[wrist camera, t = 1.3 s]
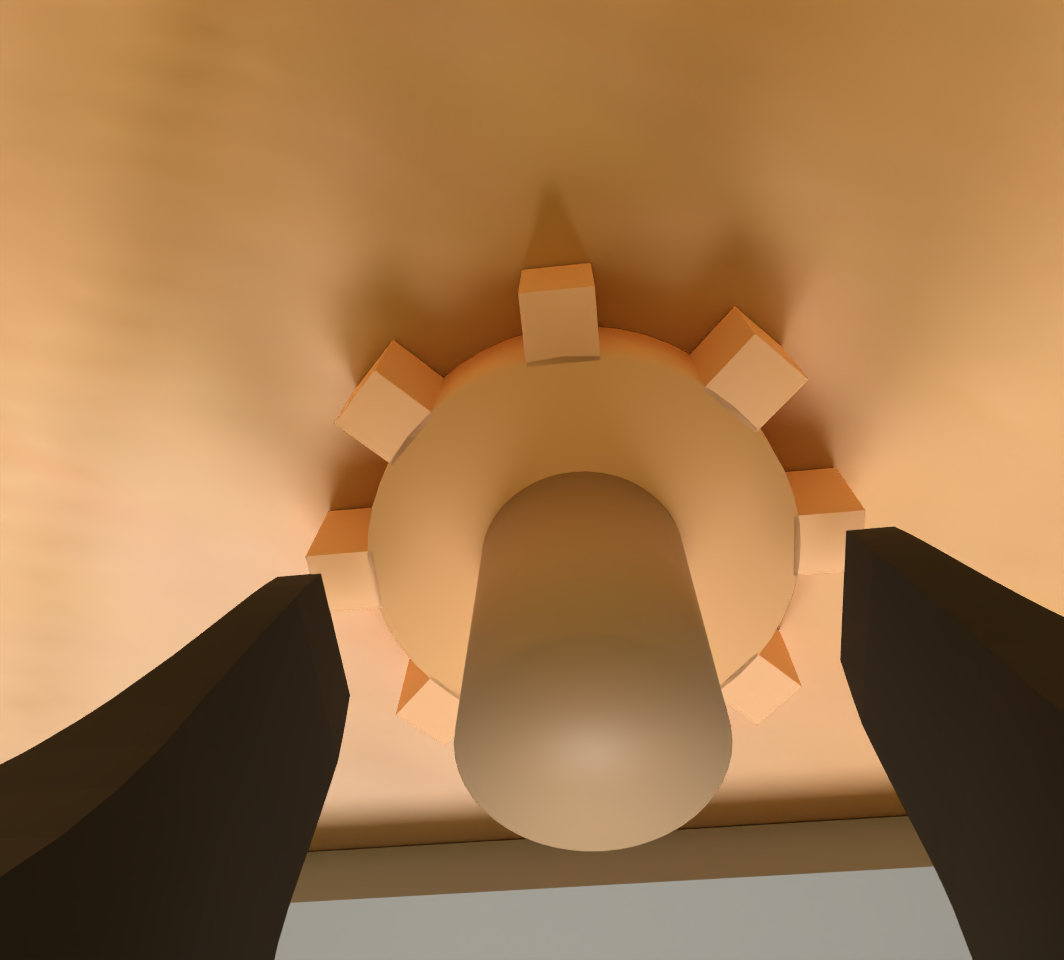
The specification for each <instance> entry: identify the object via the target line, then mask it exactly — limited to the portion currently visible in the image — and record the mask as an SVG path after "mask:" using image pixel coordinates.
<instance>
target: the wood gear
mask: <svg viewBox="0 0 1064 960" xmlns="http://www.w3.org/2000/svg"><path fill="white" fill-rule="evenodd" d="M518 298H519V307H520V316H521V325H522V334H523V335H520V336H517V337H514V338H510V339H507V340H505V341H503V342H500V343H498V344H496V345H494V346H492V347H489V348H487V349H485V350H483V351H481V352H479V353H478V354H476V355H475V356H473V357H471V358H470V359H468V360H466V361H465V362H463V363H462V364H460V365H459V366H457V367H456V368H455V369H454V370H453V371H451V372H450V373H449V374H448V375H446V376H445V377H444V378H443V377H442V376H440V375H439V374H438V373H436V372H435V371H434V370H432V369H431V368H430V367H428V366H427V365H426V364H424V363H423V362H422V361H420V360H419V359H418V358H417V357H415V356H414V355H413V354H411V353H410V352H409V351H407V350H406V349H405V348H403V347H402V346H401V345H399V344H398V343H397V342H395V341H394V340H392V342H391V343H390V344H389V345H388V347H387V348H386V349H385V351H384V352H383V353H382V355H381V356H380V357H379V359H378V360H377V361H376V362H375V364H374V365H373V366H372V368H371V369H370V370H369V372H368V373H367V374H366V376H365V377H364V378H363V380H362V381H361V382H360V383H359V385H358V386H357V387H356V389H355V390H354V392H353V394H352V395H351V397H350V398H349V400H348V402H347V403H346V405H345V406H344V408H343V410H342V411H341V413H340V415H339V416H338V418H337V419H336V421H335V423H334V424H335V425H336V426H338V427H339V428H341V429H342V430H343V431H345V432H346V433H348V434H349V435H350V436H352V437H353V438H355V439H356V440H357V441H359V442H360V443H362V444H363V445H364V446H366V447H367V448H369V449H370V450H371V451H373V452H374V453H376V454H377V455H378V456H380V457H381V458H383V459H384V460H386V461H387V462H388V465H387V467H386V470H385V472H384V474H383V477H382V479H381V482H380V484H379V487H378V490H377V494H376V497H375V500H374V503H373V506H372V508H360V509H348V510H337V511H329V512H328V514H327V516H326V518H325V520H324V522H323V524H322V525H321V527H320V529H319V531H318V533H317V535H316V537H315V539H314V541H313V543H312V545H311V547H310V549H309V551H308V553H307V555H306V560H307V564H308V568H309V572H310V574H320V573H321V576H322V580H323V584H324V588H325V593H326V597H327V601H328V605H329V609H330V612H337V611H350V610H363V609H375V608H380V610H381V612H382V614H383V617H384V619H385V621H386V623H387V626H388V627H389V629H390V630H391V632H392V634H393V635H394V637H395V638H396V640H397V642H398V643H399V645H400V646H401V648H402V649H403V650H404V651H405V652H406V654H407V655H408V656H409V657H410V660H409V664H408V668H407V672H406V676H405V680H404V684H403V688H402V692H401V696H400V700H399V704H398V708H397V712H396V715H397V716H398V717H400V718H401V719H403V720H404V721H406V722H408V723H409V724H411V725H412V726H414V727H416V728H417V729H419V730H420V731H422V732H424V733H425V734H427V735H428V736H430V737H431V738H433V739H435V740H436V741H438V742H439V743H441V744H443V745H444V746H446V745H447V744H448V743H449V742H450V741H451V740H452V739H453V738H454V750H455V759H456V763H457V767H458V771H459V774H460V776H461V778H462V780H463V783H464V785H465V787H466V788H467V790H468V791H469V793H470V794H471V796H472V798H473V799H474V800H475V801H476V802H477V803H478V805H479V806H480V807H481V808H482V809H483V810H484V811H485V812H486V813H487V814H488V815H489V816H491V817H492V818H493V819H494V820H495V821H497V822H498V823H500V824H501V825H503V826H504V827H505V828H507V829H509V830H511V831H512V832H514V833H516V834H518V835H520V836H522V837H524V838H527V839H529V840H532V841H534V842H537V843H540V844H544V845H547V846H551V847H556V848H561V849H566V850H575V851H609V850H618V849H624V848H628V847H633V846H637V845H641V844H644V843H647V842H650V841H653V840H655V839H658V838H660V837H662V836H665V835H667V834H669V833H670V832H672V831H674V830H676V829H678V828H679V827H681V826H682V825H684V824H685V823H687V822H688V821H689V820H691V819H692V818H693V817H695V816H696V815H697V814H698V813H699V812H700V811H701V810H702V809H703V808H704V807H705V806H706V805H707V804H708V803H709V801H710V800H711V799H712V798H713V796H714V795H715V794H716V792H717V790H718V789H719V787H720V785H721V784H722V782H723V780H724V777H725V775H726V772H727V770H728V767H729V763H730V758H731V753H732V732H731V725H730V721H729V717H728V713H727V709H726V706H725V703H726V704H728V705H729V706H731V707H732V708H733V709H735V710H736V711H738V712H739V713H740V714H742V715H743V716H745V717H746V718H747V719H749V720H750V721H752V722H753V723H754V724H756V725H757V724H758V723H760V722H761V721H762V720H763V719H764V718H765V717H767V716H768V715H769V714H770V713H771V712H772V711H774V710H775V709H776V708H777V707H778V706H779V705H781V704H782V703H783V702H784V701H785V700H787V699H788V698H789V697H790V696H791V695H792V694H794V693H795V692H796V691H797V690H798V689H799V688H801V687H802V686H801V684H800V681H799V679H798V676H797V673H796V671H795V668H794V666H793V663H792V661H791V658H790V656H789V653H788V651H787V648H786V646H785V643H784V641H783V638H782V636H781V633H780V632H779V631H778V630H777V627H778V626H779V624H780V622H781V620H782V619H783V617H784V614H785V612H786V609H787V607H788V605H789V602H790V600H791V597H792V595H793V591H794V587H795V583H796V579H797V575H810V574H822V573H835V572H844V567H845V545H846V531H847V530H859V529H864V524H865V509H864V508H863V506H862V505H861V503H860V502H859V501H858V499H857V498H856V496H855V495H854V493H853V492H852V490H851V489H850V488H849V486H848V485H847V483H846V482H845V480H844V479H843V478H842V476H841V475H840V473H839V472H838V470H837V469H836V468H826V469H814V470H802V471H791V472H785V471H784V469H783V467H782V465H781V463H780V462H779V460H778V458H777V456H776V455H775V453H774V451H773V449H772V448H771V446H770V444H769V442H768V440H767V439H766V437H765V435H764V433H763V432H762V430H761V427H762V426H763V425H764V424H765V423H766V422H767V421H768V420H769V419H770V418H771V417H772V416H773V415H774V414H775V413H776V412H777V411H778V410H779V409H780V408H781V407H782V406H783V405H784V404H785V403H786V402H787V401H788V400H789V399H790V398H791V397H792V396H793V395H794V394H795V393H796V392H797V391H798V390H799V389H800V388H801V387H802V386H803V385H804V384H805V383H806V382H807V381H808V378H807V377H806V376H805V375H804V373H803V372H802V371H801V370H800V368H799V367H798V366H797V365H796V363H795V362H794V361H793V360H792V359H791V357H790V356H789V355H788V354H787V352H786V351H785V350H784V349H783V347H781V346H780V345H779V344H778V343H777V342H776V341H774V340H773V339H772V338H771V337H770V336H769V335H768V334H766V333H765V332H764V331H763V330H762V329H761V328H759V327H758V326H757V325H756V324H755V323H754V322H752V321H751V320H750V319H749V318H748V317H747V316H746V315H744V314H743V313H742V312H741V311H740V310H739V309H737V308H736V307H735V306H734V307H733V308H732V309H731V311H730V312H729V313H728V314H727V315H726V316H725V317H724V318H723V319H722V320H721V321H720V323H719V324H718V325H717V326H716V327H715V328H714V329H713V330H712V331H711V332H710V333H709V334H708V336H707V337H706V338H705V339H704V340H703V341H702V342H701V343H700V344H699V345H698V346H697V348H696V349H695V350H694V351H693V352H692V353H691V354H688V353H687V352H685V351H683V350H681V349H679V348H677V347H675V346H673V345H671V344H669V343H666V342H664V341H661V340H658V339H655V338H653V337H650V336H647V335H644V334H640V333H636V332H631V331H627V330H622V329H618V328H607V327H598V321H597V308H596V295H595V284H594V279H593V273H592V267H591V263H583V264H573V265H564V266H554V267H544V268H534V269H525V270H522V272H521V278H520V284H519V290H518Z"/></svg>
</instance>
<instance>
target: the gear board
mask: <svg viewBox="0 0 1064 960" xmlns="http://www.w3.org/2000/svg"><path fill="white" fill-rule="evenodd" d="M275 960H972V957H971V954H970V952H969V949H968V946H967V944H966V941H965V939H964V936H963V933H962V931H961V928H960V926H959V923H958V920H957V918H956V915H955V912H954V910H953V907H952V905H951V903H950V901H949V898H948V896H947V894H946V892H945V890H944V887H943V885H942V883H941V881H940V879H939V876H938V874H937V872H936V870H935V868H934V866H933V864H932V862H931V860H930V858H929V856H928V854H927V852H926V850H925V848H924V846H923V844H922V842H921V840H920V839H919V837H918V835H917V833H916V831H915V829H914V827H913V825H912V823H911V821H910V819H909V817H908V816H899V817H883V818H866V819H850V820H833V821H816V822H800V823H783V824H767V825H750V826H733V827H717V828H700V829H684V830H674V831H672V832H670V833H669V834H667V835H665V836H662V837H660V838H658V839H655V840H653V841H650V842H647V843H644V844H641V845H637V846H633V847H628V848H624V849H618V850H609V851H575V850H566V849H561V848H556V847H551V846H547V845H544V844H540V843H537V842H534V841H532V840H529V839H518V840H501V841H484V842H468V843H451V844H435V845H418V846H401V847H385V848H368V849H352V850H335V851H318V852H307V855H306V858H305V861H304V864H303V867H302V870H301V873H300V876H299V879H298V882H297V885H296V887H295V890H294V893H293V896H292V899H291V902H290V905H289V908H288V911H287V915H286V918H285V922H284V925H283V929H282V932H281V936H280V939H279V942H278V947H277V951H276V955H275Z"/></svg>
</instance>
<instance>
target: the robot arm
mask: <svg viewBox="0 0 1064 960" xmlns="http://www.w3.org/2000/svg"><path fill="white" fill-rule="evenodd" d="M840 660H841V663H842V666H843V669H844V672H845V675H846V679H847V682H848V685H849V688H850V691H851V694H852V697H853V700H854V703H855V705H856V708H857V711H858V714H859V717H860V719H861V722H862V725H863V727H864V729H865V731H866V733H867V735H868V737H869V739H870V742H871V744H872V746H873V748H874V750H875V752H876V754H877V756H878V758H879V760H880V762H881V764H882V766H883V768H884V770H885V772H886V774H887V776H888V778H889V780H890V782H891V784H892V785H893V787H894V789H895V791H896V793H897V795H898V797H899V799H900V801H901V803H902V805H903V807H904V809H905V811H906V813H907V815H908V817H909V819H910V821H911V823H912V825H913V827H914V829H915V831H916V833H917V835H918V837H919V839H920V840H921V842H922V844H923V846H924V848H925V850H926V852H927V854H928V856H929V858H930V860H931V862H932V864H933V866H934V868H935V870H936V872H937V874H938V876H939V879H940V881H941V883H942V885H943V887H944V890H945V892H946V894H947V896H948V898H949V901H950V903H951V905H952V907H953V910H954V912H955V915H956V918H957V920H958V923H959V926H960V928H961V931H962V933H963V936H964V939H965V941H966V944H967V946H968V949H969V952H970V954H971V957H972V960H1064V617H1063V616H1061V615H1059V614H1056V613H1054V612H1052V611H1050V610H1048V609H1046V608H1044V607H1042V606H1040V605H1038V604H1037V603H1035V602H1033V601H1031V600H1029V599H1027V598H1025V597H1023V596H1021V595H1019V594H1017V593H1015V592H1014V591H1012V590H1010V589H1008V588H1006V587H1004V586H1002V585H1001V584H999V583H997V582H995V581H993V580H992V579H990V578H988V577H986V576H984V575H982V574H981V573H979V572H977V571H975V570H974V569H972V568H970V567H968V566H966V565H965V564H963V563H961V562H959V561H958V560H956V559H954V558H952V557H951V556H949V555H947V554H945V553H944V552H942V551H940V550H938V549H936V548H935V547H933V546H931V545H929V544H927V543H926V542H924V541H922V540H920V539H918V538H916V537H915V536H913V535H911V534H909V533H907V532H905V531H903V530H900V529H898V528H896V527H883V528H871V529H859V530H847V531H846V545H845V567H844V590H843V613H842V636H841V658H840ZM349 697H350V694H349V690H348V685H347V681H346V677H345V673H344V669H343V664H342V660H341V656H340V652H339V647H338V643H337V639H336V635H335V631H334V626H333V622H332V618H331V614H330V609H329V605H328V601H327V597H326V593H325V588H324V584H323V580H322V576H321V573H320V574H307V575H295V576H283V577H277V578H275V579H273V580H272V581H270V582H269V583H267V584H266V585H264V586H263V587H261V588H260V589H258V590H257V591H256V592H254V593H253V594H252V595H250V596H249V597H248V598H246V599H245V600H244V601H242V602H241V603H240V604H239V605H237V606H236V607H235V608H233V609H232V610H231V611H230V612H228V613H227V614H226V615H225V616H223V617H222V618H221V619H219V620H218V621H217V622H216V623H214V624H213V625H212V626H210V627H209V628H208V629H207V630H205V631H204V632H203V633H201V634H200V635H199V636H198V637H196V638H195V639H194V640H192V641H191V642H190V643H189V644H187V645H186V646H185V647H183V648H182V649H181V650H179V651H178V652H177V653H176V654H174V655H173V656H172V657H170V658H169V659H167V660H166V661H165V662H163V663H162V664H160V665H159V666H158V667H156V668H155V669H153V670H152V671H151V672H149V673H148V674H146V675H145V676H143V677H142V678H141V679H139V680H138V681H136V682H135V683H134V684H132V685H131V686H129V687H128V688H127V689H125V690H124V691H122V692H121V693H120V694H118V695H117V696H115V697H114V698H113V699H111V700H110V701H108V702H107V703H105V704H104V705H102V706H100V707H99V708H97V709H96V710H94V711H93V712H91V713H90V714H88V715H86V716H85V717H83V718H82V719H80V720H79V721H77V722H75V723H74V724H72V725H70V726H69V727H67V728H65V729H63V730H62V731H60V732H58V733H57V734H55V735H53V736H52V737H50V738H48V739H47V740H45V741H43V742H42V743H40V744H38V745H36V746H35V747H33V748H31V749H29V750H27V751H26V752H24V753H22V754H20V755H18V756H16V757H14V758H12V759H10V760H8V761H6V762H5V763H3V764H1V765H0V960H275V955H276V951H277V947H278V942H279V939H280V936H281V932H282V929H283V925H284V922H285V918H286V915H287V911H288V908H289V905H290V902H291V899H292V896H293V893H294V890H295V887H296V885H297V882H298V879H299V876H300V873H301V870H302V867H303V864H304V861H305V858H306V855H307V852H308V849H309V846H310V843H311V840H312V837H313V834H314V832H315V829H316V826H317V823H318V820H319V817H320V814H321V811H322V808H323V805H324V802H325V799H326V796H327V793H328V790H329V787H330V784H331V781H332V778H333V774H334V771H335V768H336V765H337V762H338V758H339V753H340V748H341V743H342V738H343V733H344V727H345V721H346V715H347V709H348V703H349Z"/></svg>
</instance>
